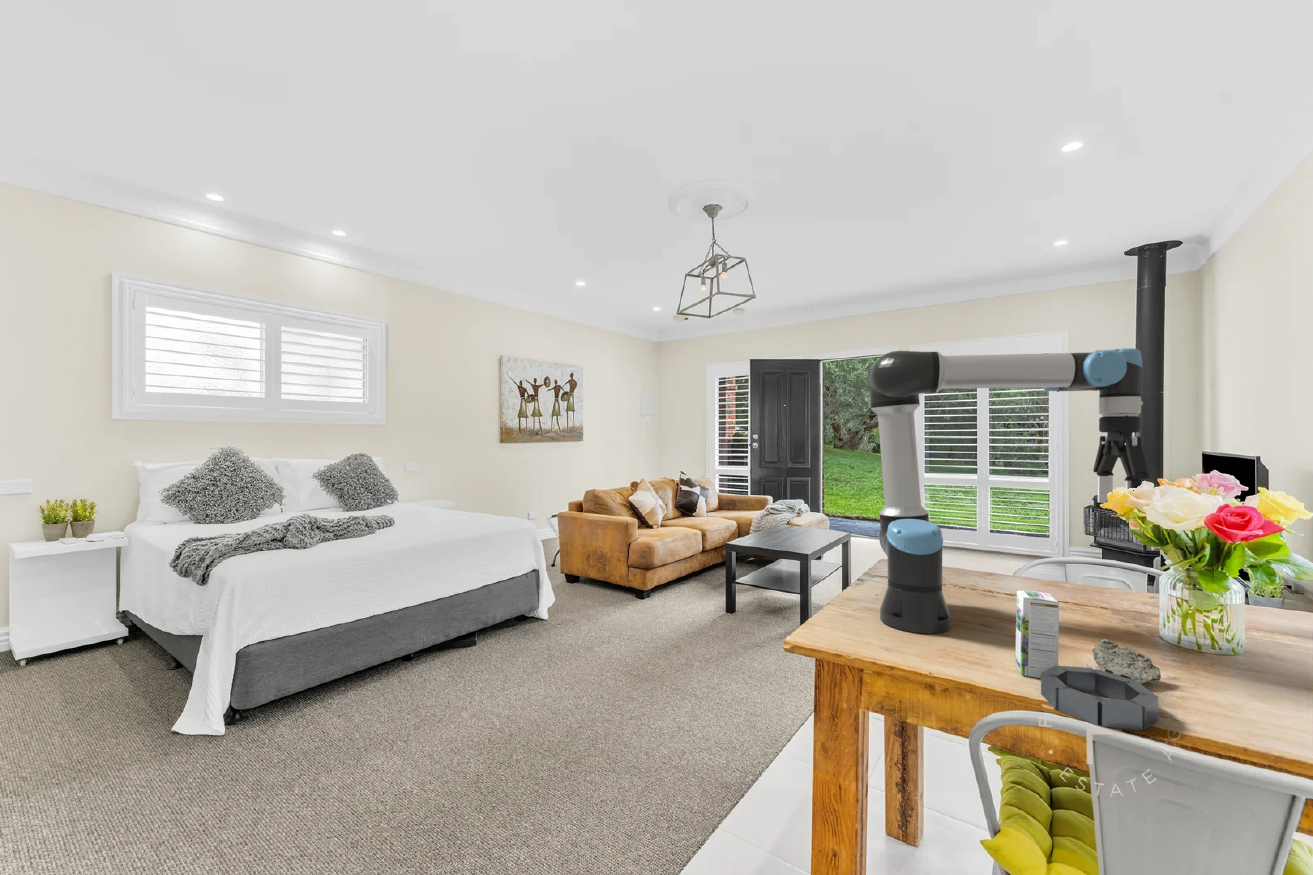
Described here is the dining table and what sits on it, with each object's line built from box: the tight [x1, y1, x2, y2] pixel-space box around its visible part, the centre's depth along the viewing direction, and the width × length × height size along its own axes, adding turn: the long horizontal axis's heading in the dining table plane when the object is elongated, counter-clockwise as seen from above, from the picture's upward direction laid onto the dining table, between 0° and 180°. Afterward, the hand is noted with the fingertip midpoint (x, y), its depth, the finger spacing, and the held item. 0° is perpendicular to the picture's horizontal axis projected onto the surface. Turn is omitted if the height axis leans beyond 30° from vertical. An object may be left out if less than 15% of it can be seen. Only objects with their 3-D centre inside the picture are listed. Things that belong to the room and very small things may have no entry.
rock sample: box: [1090, 638, 1164, 686], centre depth 99 cm, size 10×8×9 cm
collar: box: [1040, 665, 1159, 731], centre depth 90 cm, size 14×14×4 cm
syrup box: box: [1015, 590, 1060, 679], centre depth 103 cm, size 6×6×14 cm
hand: (1118, 506), depth 129 cm, fingers open, 13 cm apart
